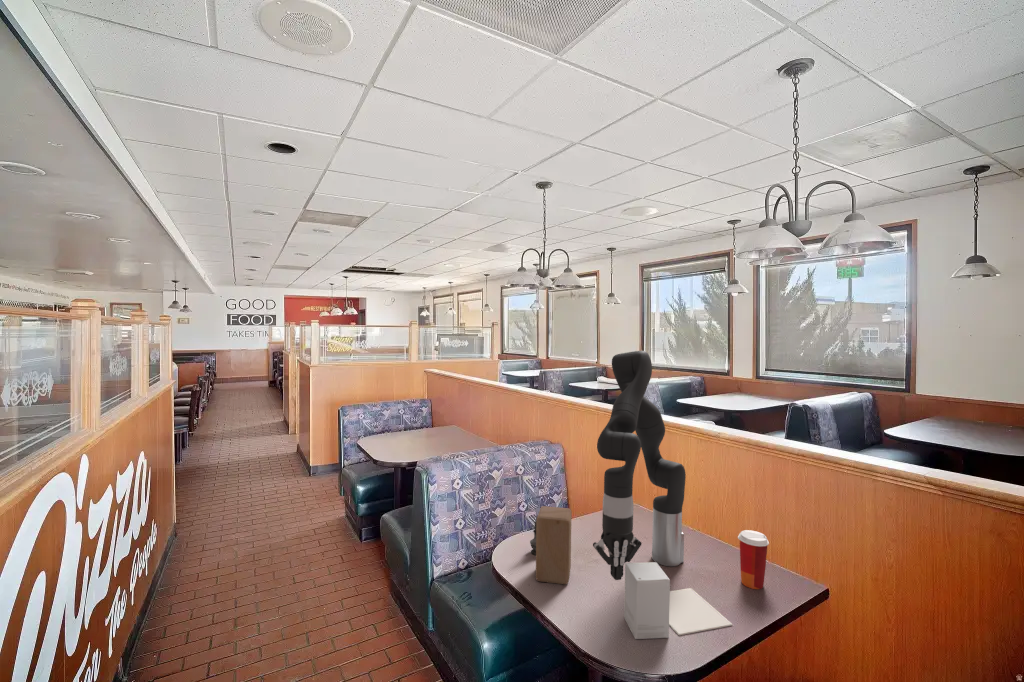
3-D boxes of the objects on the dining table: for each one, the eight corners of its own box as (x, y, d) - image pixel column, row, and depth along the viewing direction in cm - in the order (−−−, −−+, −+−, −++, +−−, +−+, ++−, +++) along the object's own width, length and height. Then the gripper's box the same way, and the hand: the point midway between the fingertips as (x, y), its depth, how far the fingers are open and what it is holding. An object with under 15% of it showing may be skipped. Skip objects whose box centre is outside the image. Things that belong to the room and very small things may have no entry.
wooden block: (568, 586, 137) (569, 520, 137) (535, 582, 139) (536, 517, 139) (570, 569, 147) (571, 507, 146) (539, 565, 149) (540, 504, 148)
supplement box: (670, 638, 115) (671, 579, 114) (635, 640, 114) (636, 581, 113) (656, 615, 124) (657, 561, 123) (623, 617, 123) (624, 562, 122)
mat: (690, 589, 136) (690, 587, 136) (732, 625, 120) (732, 624, 120) (642, 596, 132) (642, 595, 132) (678, 635, 116) (678, 634, 116)
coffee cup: (764, 579, 142) (766, 531, 142) (770, 594, 134) (771, 543, 134) (734, 574, 145) (736, 527, 144) (738, 588, 137) (739, 538, 137)
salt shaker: (528, 548, 160) (529, 514, 160) (545, 548, 161) (545, 514, 160) (530, 557, 154) (531, 521, 154) (548, 556, 155) (548, 521, 155)
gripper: (633, 502, 121) (632, 567, 122) (587, 507, 118) (586, 574, 118) (649, 514, 114) (647, 582, 114) (600, 519, 110) (599, 590, 111)
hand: (616, 578), depth 116 cm, fingers closed
